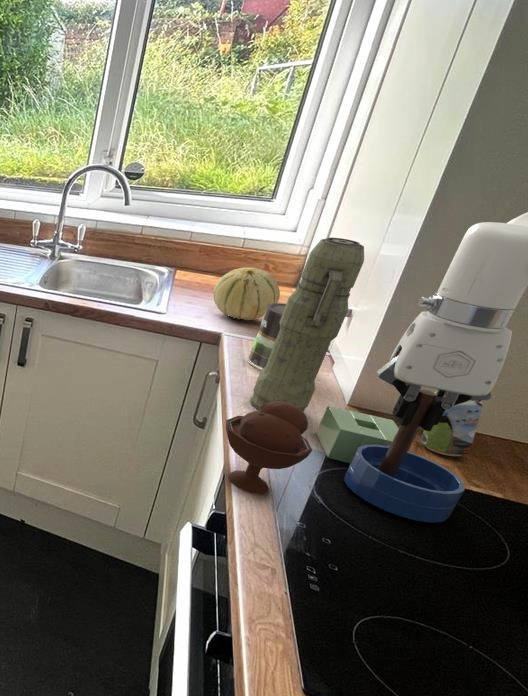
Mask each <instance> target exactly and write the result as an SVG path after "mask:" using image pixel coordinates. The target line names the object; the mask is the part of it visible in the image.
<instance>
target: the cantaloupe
mask: <svg viewBox="0 0 528 696" xmlns="http://www.w3.org/2000/svg"><path fill="white" fill-rule="evenodd" d="M212 293H213V301H214V304H215V305H216V307H217V310H219V311H220V312H221V313H222V314H223V315H225V314H226V315H225V316H227V315H229V316H231V317H234V318H233V319H235V318H239V319H238V320H240V319H244V320H243V321H253V320H258V319H260V318H264V315H265V312H266V307H267V305H268V304H272V303H279V300H280V296H281V291H280V287H279V284H278V282H277V280H276V279H275V277H274V276H273V275H272V274H270V273H269V272H268V271H265V270H263V269H259V268H256V267H240V268H235V269H233V270H230V271H228V272H227V273H225V274H224V275H222V276H221V277H220V278H219V279H218V280H217V282H216V283H215V284H214V288H213V291H212ZM229 316H228V317H229ZM231 317H230V318H231ZM252 319H253V320H252Z"/></svg>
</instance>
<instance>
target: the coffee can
mask: <svg viewBox="0 0 528 696" xmlns="http://www.w3.org/2000/svg"><path fill="white" fill-rule="evenodd" d="M286 304H287V303H281V302H278V303H272V304H268V305H267V307H266V312H265V315H264V316H263V317H262V319H261V320H262V321H261V323H260V326H259V329H258V331H257V335H256V337H255V339H254V342H253V345H252V348H251V350H250V353H249V356H248V358H249V360H250V362H251V363H253V364H254V365H256V366H258V367H259V368H258V367H256V366H254V365H253V364H251V363H250V362H249V361H248V360H247V362H248V364H249V365H251V367H253V368H255V369H256V370H259V371H261V370H262V369H263V368H264V367H265V366H266V364H267V362H268V359H269V357H270V354H271V351H272V349H273V346H274V344H275V341H276V338H277V336H278V333H279V330H280V323H279V322H280V319H281V317H282V314H283V311H284V309H285V306H286ZM260 368H261V369H260Z"/></svg>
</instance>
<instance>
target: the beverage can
mask: <svg viewBox="0 0 528 696" xmlns="http://www.w3.org/2000/svg"><path fill="white" fill-rule="evenodd" d="M436 392H437V390H436V391H435V392H434V393H435V394H436ZM483 406H484V402H483V400H478V401H471V400H469V401H467V402H464V403H461V404H457V405H454V406H453V407H452V408H451V409H446V410H445V412H444V414H443V416H442V417H441V419H440V421H439V423H438V425H434V426H433V428H432V429H431V431H425V430H424V429H423V432H422V436H421V439H420V443H421V444H422V445H423V446H425V447H426V448H427V450H429V451H431V452H434V453H436V454H440V455H443V456H448V457H449V456H450V457H462V456H466V455H468V454H470V453H471V451H472V446H473V442H474V439H475V436H476V431H477V428H478V424H479V421H480V417H481V412H482V411H483V410H482V409H483Z"/></svg>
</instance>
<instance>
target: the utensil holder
mask: <svg viewBox="0 0 528 696" xmlns="http://www.w3.org/2000/svg"><path fill="white" fill-rule="evenodd" d="M317 427H318V428H317V430H316V432H315V434H316V436H317V438H318V440H319V442H320V444H321V447H322V448H323V451H324V452H325V455H326V457H327V458H328V459H332V460H335V461H339V462H343V463H347V464H350V463H351V461H352V459H353V457H354V455H355V453H356V451H357V449H358V447H361V446H363V445H382V446H389V447H390V445H391V443H392V441H393V439H394V437H395V435H396V433H397V431H398V429H399V427H398V425H397V423H395V421H394V420H393V419H389V418H385V417H381V416H376V415H372V414H367V413H362V412H359V411H355V410H354V411H353V410H349V409H345V408H339V407H335V406H331V405H327V407H326V408H325V411H324V413H323V416H322V418H321V421H320V423H319V425H318V426H317ZM411 448H412V445H411V446H410V448H409V450H408V452H410V449H411Z"/></svg>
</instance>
